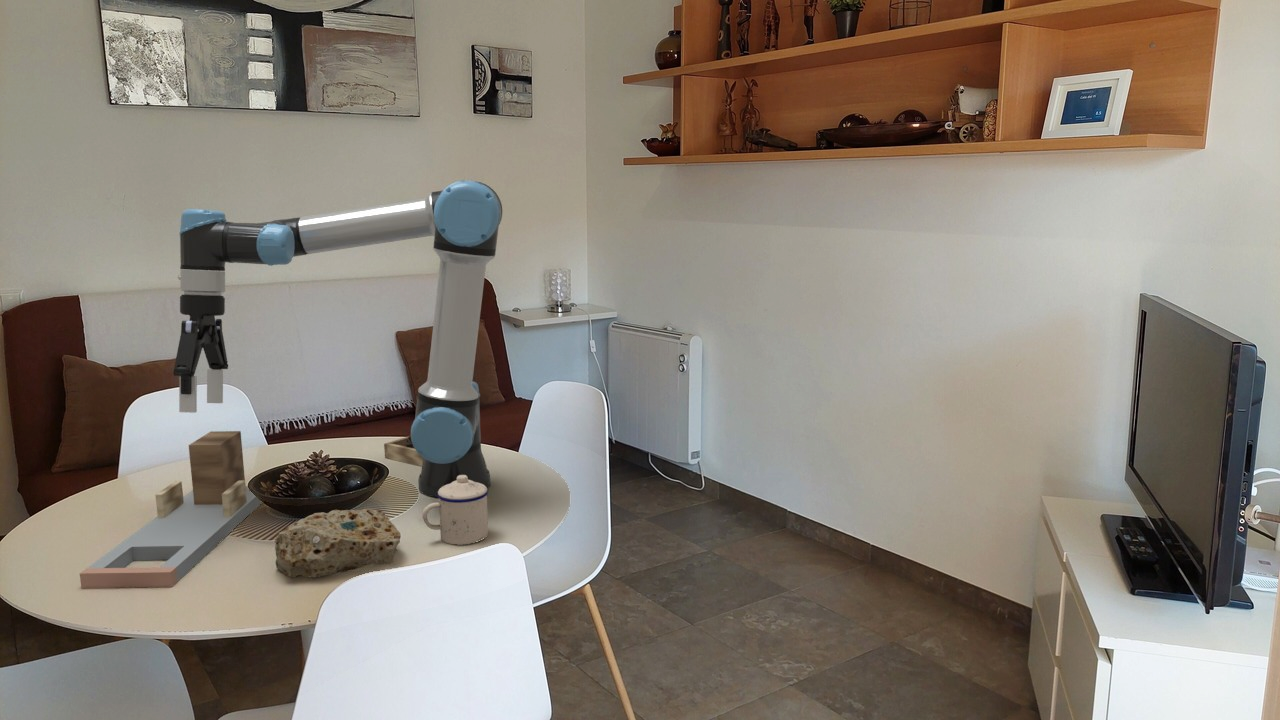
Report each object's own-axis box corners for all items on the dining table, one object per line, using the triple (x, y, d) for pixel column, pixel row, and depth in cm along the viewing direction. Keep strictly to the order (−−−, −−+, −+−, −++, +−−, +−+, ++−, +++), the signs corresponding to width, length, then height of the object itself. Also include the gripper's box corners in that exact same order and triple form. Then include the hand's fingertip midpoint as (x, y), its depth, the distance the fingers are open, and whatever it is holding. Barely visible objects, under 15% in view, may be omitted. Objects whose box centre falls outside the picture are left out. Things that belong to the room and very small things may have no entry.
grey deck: (198, 498, 191) (197, 486, 190) (268, 497, 191) (267, 485, 191) (81, 588, 149) (79, 573, 148) (172, 586, 149) (170, 572, 148)
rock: (384, 540, 171) (390, 493, 167) (406, 586, 159) (414, 536, 156) (266, 552, 160) (270, 501, 157) (280, 602, 148) (285, 548, 145)
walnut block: (215, 487, 189) (210, 431, 187) (245, 487, 190) (240, 431, 187) (194, 504, 180) (188, 445, 177) (225, 504, 180) (220, 444, 177)
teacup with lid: (481, 524, 176) (479, 465, 174) (495, 540, 168) (493, 479, 166) (418, 535, 170) (415, 474, 168) (430, 552, 162) (427, 489, 160)
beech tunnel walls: (177, 503, 180) (175, 481, 180) (246, 502, 181) (244, 480, 180) (157, 517, 173) (155, 494, 172) (230, 516, 173) (228, 494, 172)
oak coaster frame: (473, 451, 224) (472, 437, 223) (425, 467, 211) (425, 452, 210) (433, 442, 231) (432, 429, 230) (384, 458, 218) (384, 443, 218)
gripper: (206, 292, 183) (205, 399, 185) (153, 293, 158) (152, 415, 160) (245, 294, 184) (244, 400, 185) (198, 295, 159) (197, 417, 161)
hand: (201, 407), depth 173 cm, fingers open, 13 cm apart
